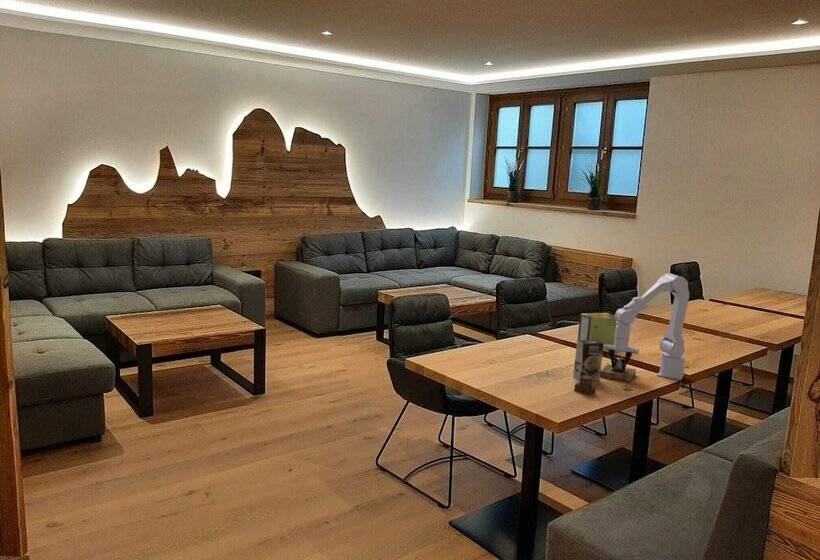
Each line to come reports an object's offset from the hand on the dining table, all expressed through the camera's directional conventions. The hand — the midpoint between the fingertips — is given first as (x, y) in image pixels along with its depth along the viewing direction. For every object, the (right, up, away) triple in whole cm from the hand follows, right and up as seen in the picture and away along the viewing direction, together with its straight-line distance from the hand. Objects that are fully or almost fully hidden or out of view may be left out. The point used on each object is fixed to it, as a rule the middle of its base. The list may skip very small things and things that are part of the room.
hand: (618, 368), depth 269 cm
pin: (0, -3, +1) cm, 3 cm away
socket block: (0, -3, +1) cm, 3 cm away
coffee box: (-15, -4, -5) cm, 16 cm away
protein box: (+4, +5, +46) cm, 47 cm away
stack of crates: (-19, -7, -20) cm, 28 cm away
